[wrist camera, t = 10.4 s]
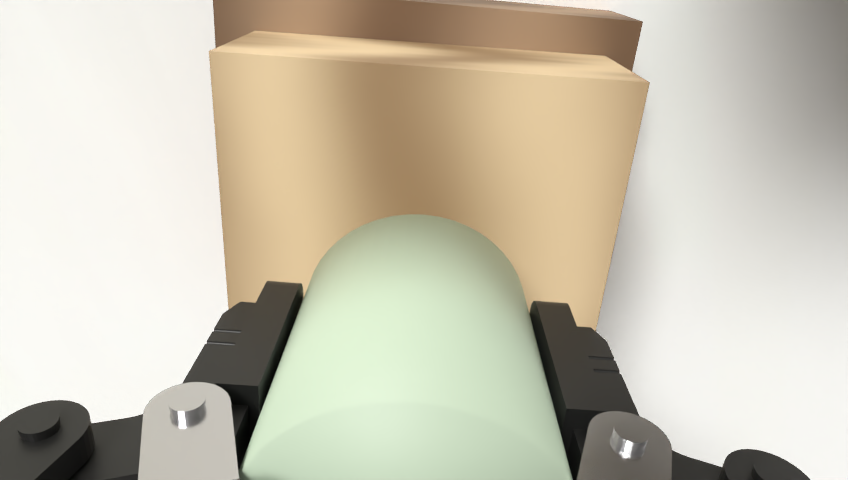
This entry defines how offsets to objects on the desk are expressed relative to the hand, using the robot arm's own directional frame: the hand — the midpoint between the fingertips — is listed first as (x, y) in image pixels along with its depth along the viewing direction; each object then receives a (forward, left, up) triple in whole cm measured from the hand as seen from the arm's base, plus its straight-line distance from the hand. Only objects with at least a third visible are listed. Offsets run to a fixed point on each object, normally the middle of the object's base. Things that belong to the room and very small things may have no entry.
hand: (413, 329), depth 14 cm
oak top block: (0, 0, -7) cm, 7 cm away
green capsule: (0, 0, -1) cm, 1 cm away
